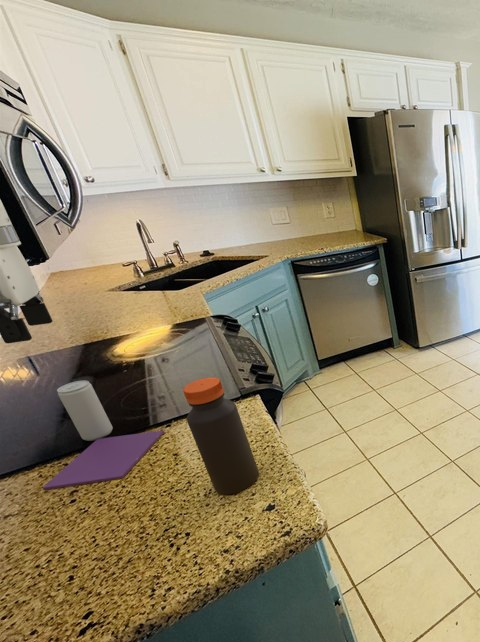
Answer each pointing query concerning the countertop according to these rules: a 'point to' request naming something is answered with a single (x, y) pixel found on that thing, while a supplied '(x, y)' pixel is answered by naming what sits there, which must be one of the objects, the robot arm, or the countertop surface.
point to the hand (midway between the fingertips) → (30, 332)
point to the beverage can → (85, 410)
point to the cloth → (105, 460)
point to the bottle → (220, 437)
